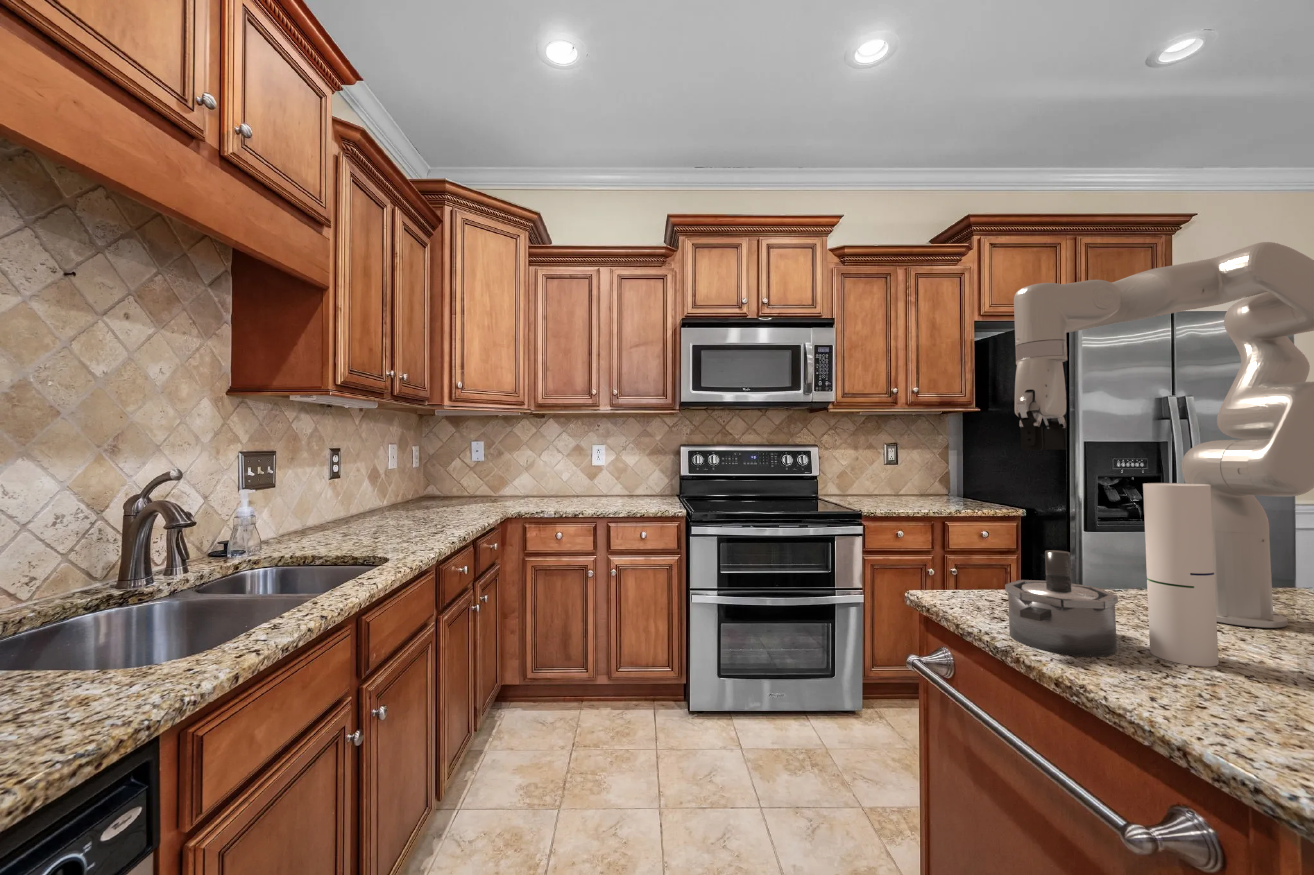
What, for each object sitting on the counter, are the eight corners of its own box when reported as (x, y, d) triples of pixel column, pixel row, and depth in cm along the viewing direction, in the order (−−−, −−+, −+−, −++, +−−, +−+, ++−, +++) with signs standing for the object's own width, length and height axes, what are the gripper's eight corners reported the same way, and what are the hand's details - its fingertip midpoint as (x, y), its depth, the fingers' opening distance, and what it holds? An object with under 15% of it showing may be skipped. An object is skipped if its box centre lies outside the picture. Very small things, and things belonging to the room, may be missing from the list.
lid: (1037, 586, 93) (1035, 545, 94) (1108, 597, 85) (1106, 552, 85) (1010, 594, 88) (1009, 551, 88) (1084, 608, 80) (1082, 560, 80)
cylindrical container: (1233, 668, 75) (1224, 485, 76) (1172, 664, 76) (1164, 485, 77) (1193, 649, 82) (1185, 483, 83) (1138, 647, 83) (1131, 483, 84)
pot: (1040, 618, 98) (1038, 573, 98) (1138, 639, 87) (1136, 588, 87) (982, 642, 86) (980, 591, 86) (1087, 670, 75) (1085, 611, 75)
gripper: (1037, 361, 106) (1040, 450, 105) (995, 353, 96) (998, 450, 95) (1084, 355, 99) (1088, 449, 99) (1044, 345, 90) (1048, 449, 89)
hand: (1044, 449), depth 97 cm, fingers open, 9 cm apart
